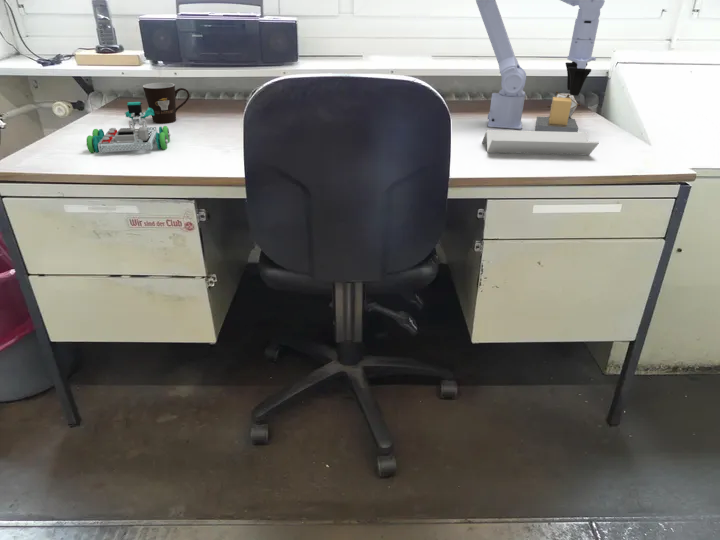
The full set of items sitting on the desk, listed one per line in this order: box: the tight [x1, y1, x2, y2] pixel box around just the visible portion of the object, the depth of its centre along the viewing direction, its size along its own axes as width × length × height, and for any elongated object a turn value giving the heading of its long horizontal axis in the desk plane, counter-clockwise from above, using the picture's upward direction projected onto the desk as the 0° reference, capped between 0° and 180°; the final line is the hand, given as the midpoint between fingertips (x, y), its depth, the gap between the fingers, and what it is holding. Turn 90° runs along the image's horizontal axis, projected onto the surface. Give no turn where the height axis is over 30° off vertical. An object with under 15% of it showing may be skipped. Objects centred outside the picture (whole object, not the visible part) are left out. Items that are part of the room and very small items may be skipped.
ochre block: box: [548, 96, 572, 125], centre depth 142 cm, size 4×4×6 cm
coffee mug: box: [142, 82, 190, 125], centre depth 153 cm, size 12×9×10 cm
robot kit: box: [86, 101, 171, 154], centre depth 135 cm, size 19×25×9 cm
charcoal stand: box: [534, 116, 579, 132], centre depth 144 cm, size 10×10×4 cm
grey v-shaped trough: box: [481, 129, 600, 156], centre depth 133 cm, size 12×25×6 cm
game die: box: [547, 90, 582, 119], centre depth 161 cm, size 9×8×10 cm
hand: (572, 92), depth 146 cm, fingers open, 7 cm apart
